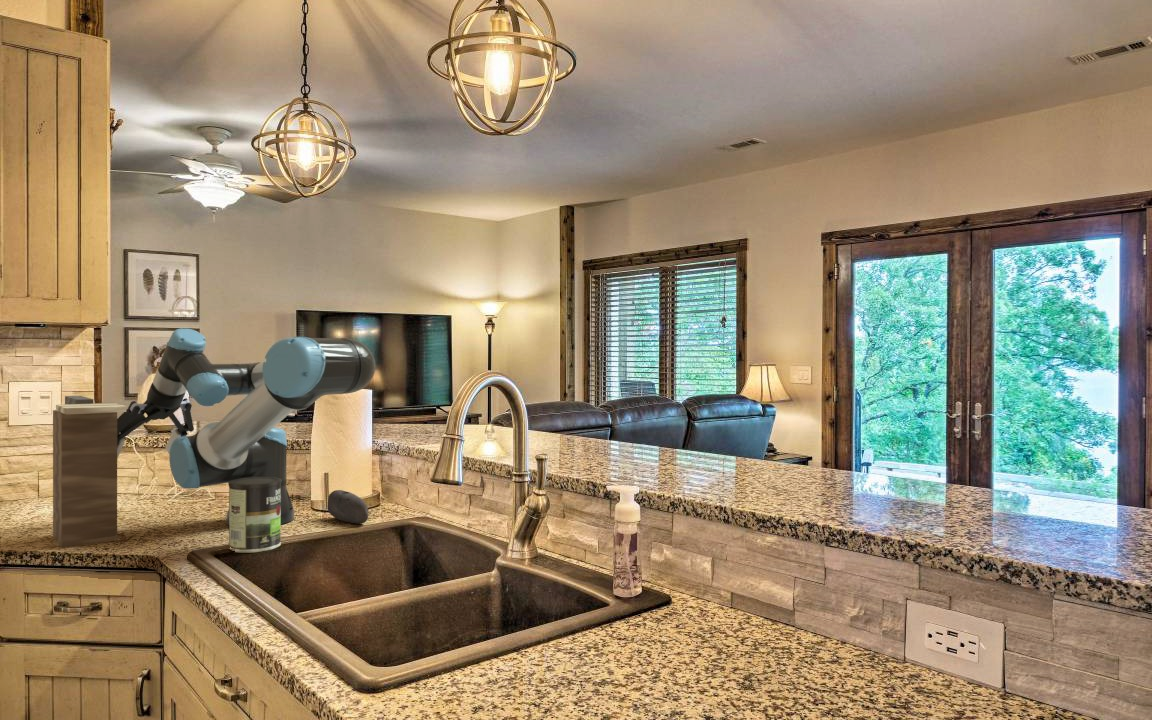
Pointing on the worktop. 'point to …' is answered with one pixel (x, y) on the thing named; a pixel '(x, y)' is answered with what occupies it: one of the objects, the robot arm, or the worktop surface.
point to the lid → (87, 406)
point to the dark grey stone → (347, 507)
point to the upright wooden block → (84, 478)
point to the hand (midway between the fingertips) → (141, 454)
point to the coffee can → (254, 514)
